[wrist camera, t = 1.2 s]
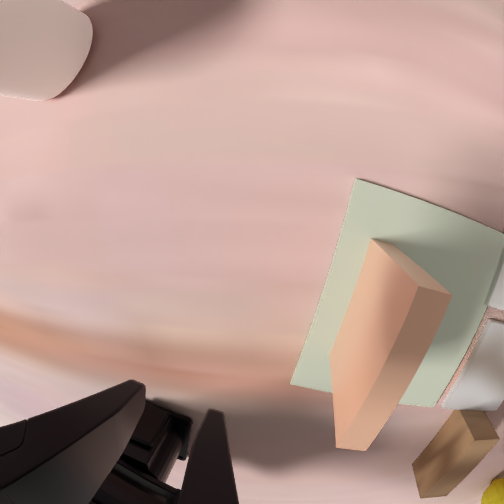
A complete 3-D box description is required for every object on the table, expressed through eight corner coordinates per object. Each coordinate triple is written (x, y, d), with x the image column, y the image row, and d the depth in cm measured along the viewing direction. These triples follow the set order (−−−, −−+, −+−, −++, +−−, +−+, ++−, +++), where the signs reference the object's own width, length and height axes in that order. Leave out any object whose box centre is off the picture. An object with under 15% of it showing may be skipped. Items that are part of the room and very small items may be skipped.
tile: (352, 360, 19) (368, 451, 11) (329, 355, 19) (335, 447, 11) (396, 245, 17) (455, 296, 9) (370, 238, 17) (418, 285, 9)
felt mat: (432, 404, 19) (433, 407, 19) (290, 380, 20) (290, 384, 20) (508, 236, 15) (511, 237, 15) (354, 178, 16) (356, 178, 16)
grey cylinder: (108, 5, 16) (4, -57, 4) (85, 96, 18) (-52, 70, 6) (42, 27, 17) (-53, -4, 5) (22, 107, 19) (-88, 101, 7)
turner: (449, 463, 21) (460, 493, 16) (395, 463, 21) (403, 499, 17) (537, 330, 16) (565, 355, 12) (487, 318, 17) (518, 347, 13)
